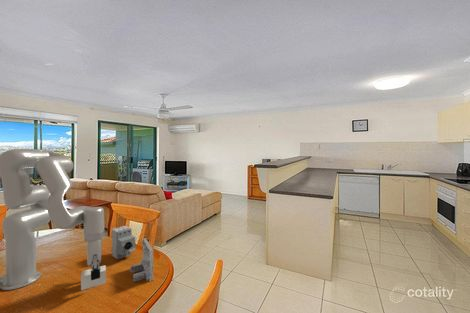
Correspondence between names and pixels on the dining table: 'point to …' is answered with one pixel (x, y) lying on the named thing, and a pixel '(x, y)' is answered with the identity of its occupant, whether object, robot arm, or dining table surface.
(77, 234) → the dining table surface
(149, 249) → the bracket
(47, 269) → the dining table surface
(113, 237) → the circuit breaker
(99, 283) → the block
